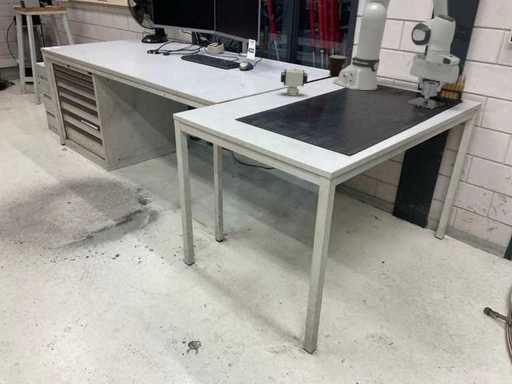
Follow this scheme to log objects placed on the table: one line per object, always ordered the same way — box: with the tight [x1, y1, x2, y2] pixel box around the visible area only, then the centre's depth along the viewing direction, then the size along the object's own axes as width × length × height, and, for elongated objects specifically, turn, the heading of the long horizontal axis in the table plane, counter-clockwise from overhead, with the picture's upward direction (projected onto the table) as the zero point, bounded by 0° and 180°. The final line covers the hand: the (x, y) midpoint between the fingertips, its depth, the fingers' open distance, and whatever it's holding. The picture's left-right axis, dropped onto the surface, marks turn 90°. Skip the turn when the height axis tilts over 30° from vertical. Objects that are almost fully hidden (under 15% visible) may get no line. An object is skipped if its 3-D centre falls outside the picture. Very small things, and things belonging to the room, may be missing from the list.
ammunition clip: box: [435, 74, 467, 101], centre depth 190 cm, size 11×2×12 cm, turn 55°
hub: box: [420, 80, 440, 97], centre depth 182 cm, size 6×6×5 cm
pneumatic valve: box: [280, 67, 308, 97], centre depth 187 cm, size 6×12×12 cm, turn 89°
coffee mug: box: [329, 54, 347, 78], centre depth 226 cm, size 12×9×10 cm
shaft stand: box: [405, 95, 446, 110], centre depth 184 cm, size 12×12×5 cm
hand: (429, 89), depth 182 cm, fingers closed on hub, 6 cm apart
